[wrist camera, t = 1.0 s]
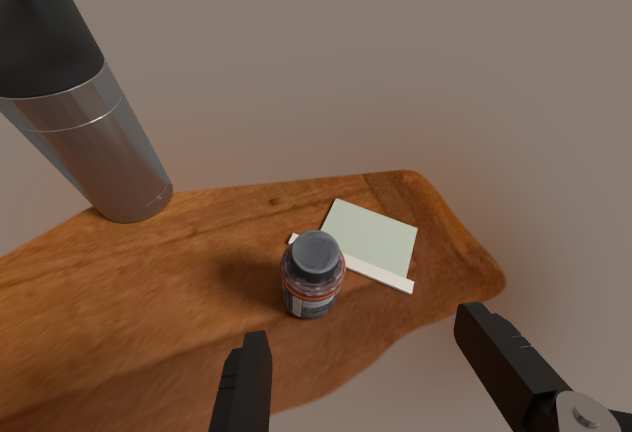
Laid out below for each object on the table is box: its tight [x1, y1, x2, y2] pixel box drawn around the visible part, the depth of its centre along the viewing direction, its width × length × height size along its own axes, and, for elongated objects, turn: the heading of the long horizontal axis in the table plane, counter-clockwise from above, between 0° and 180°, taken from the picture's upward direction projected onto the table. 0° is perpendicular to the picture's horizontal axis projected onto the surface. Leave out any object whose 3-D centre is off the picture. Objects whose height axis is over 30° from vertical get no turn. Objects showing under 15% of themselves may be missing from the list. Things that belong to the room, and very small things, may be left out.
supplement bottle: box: [281, 230, 346, 320], centre depth 26 cm, size 6×6×11 cm
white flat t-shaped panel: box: [288, 198, 417, 295], centre depth 36 cm, size 16×10×1 cm, turn 67°
